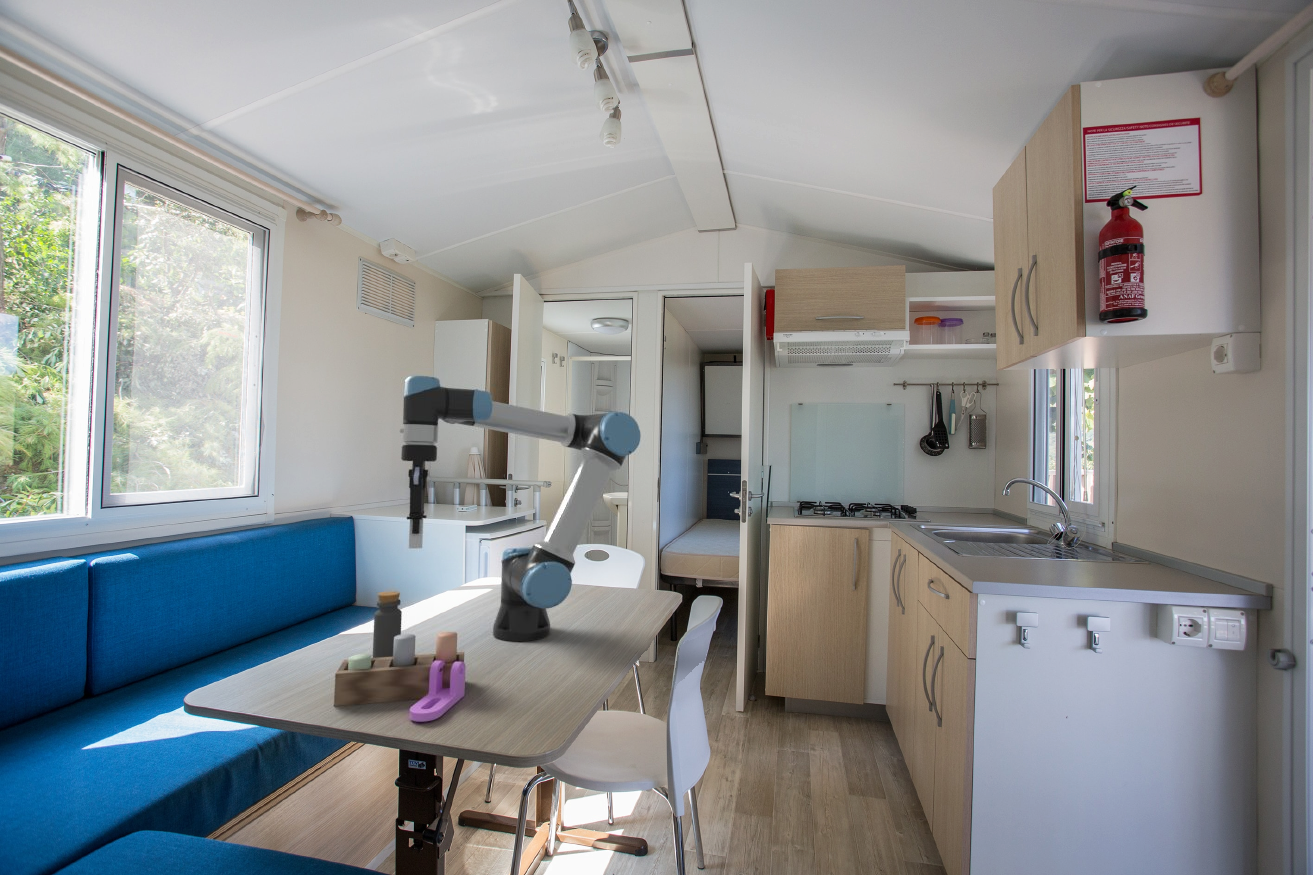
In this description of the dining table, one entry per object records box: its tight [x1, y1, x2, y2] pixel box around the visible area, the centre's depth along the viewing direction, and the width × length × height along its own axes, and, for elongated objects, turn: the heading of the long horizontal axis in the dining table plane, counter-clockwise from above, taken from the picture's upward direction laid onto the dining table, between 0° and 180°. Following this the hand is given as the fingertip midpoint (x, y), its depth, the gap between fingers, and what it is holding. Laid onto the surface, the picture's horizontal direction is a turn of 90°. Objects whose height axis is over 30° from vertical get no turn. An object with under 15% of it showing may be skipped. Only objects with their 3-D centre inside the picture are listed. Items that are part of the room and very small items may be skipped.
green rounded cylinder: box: [348, 653, 372, 670], centre depth 117 cm, size 4×4×6 cm
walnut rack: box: [333, 651, 465, 707], centre depth 119 cm, size 23×8×6 cm, turn 107°
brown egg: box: [435, 631, 458, 663], centre depth 122 cm, size 4×4×6 cm
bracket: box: [409, 661, 466, 722], centre depth 112 cm, size 13×6×7 cm, turn 174°
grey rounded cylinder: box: [393, 633, 417, 667], centre depth 119 cm, size 4×4×6 cm
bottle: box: [372, 590, 403, 658], centre depth 139 cm, size 6×6×15 cm
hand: (415, 547), depth 135 cm, fingers closed
